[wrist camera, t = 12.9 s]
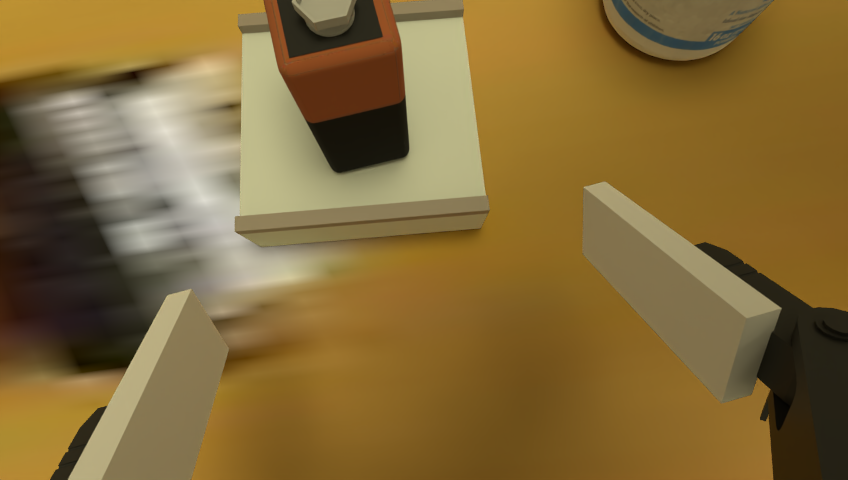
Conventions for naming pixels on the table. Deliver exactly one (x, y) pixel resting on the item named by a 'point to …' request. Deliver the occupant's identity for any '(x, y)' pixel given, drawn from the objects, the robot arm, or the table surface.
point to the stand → (373, 185)
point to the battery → (344, 76)
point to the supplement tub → (681, 24)
